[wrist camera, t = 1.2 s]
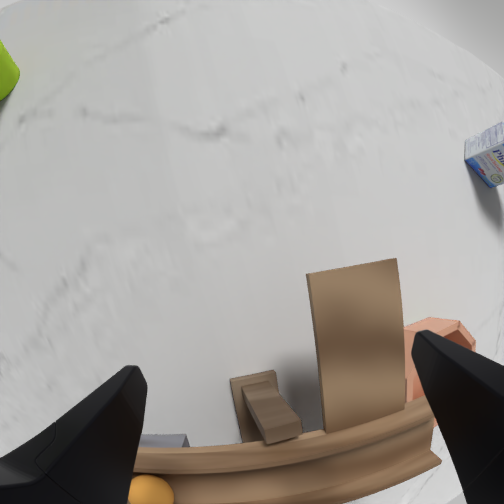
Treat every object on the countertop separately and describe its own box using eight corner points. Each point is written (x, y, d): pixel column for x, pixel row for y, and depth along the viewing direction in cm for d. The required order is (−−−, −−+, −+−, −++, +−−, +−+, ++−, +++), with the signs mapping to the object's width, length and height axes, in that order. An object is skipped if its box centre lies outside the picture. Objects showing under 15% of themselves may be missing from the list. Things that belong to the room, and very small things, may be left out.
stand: (286, 460, 24) (320, 512, 16) (249, 469, 24) (272, 526, 15) (273, 369, 25) (312, 408, 16) (229, 378, 24) (250, 424, 15)
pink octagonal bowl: (445, 392, 29) (471, 401, 24) (378, 428, 27) (403, 445, 22) (446, 309, 30) (475, 312, 25) (375, 337, 27) (406, 345, 23)
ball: (182, 496, 16) (176, 524, 12) (141, 495, 15) (131, 521, 12) (169, 466, 16) (161, 494, 13) (127, 465, 16) (113, 490, 12)
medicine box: (463, 160, 33) (505, 142, 25) (464, 139, 34) (502, 120, 26) (489, 189, 35) (529, 176, 26) (490, 168, 35) (527, 154, 27)
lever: (414, 439, 19) (441, 463, 14) (149, 485, 18) (134, 518, 13) (410, 253, 20) (448, 249, 15) (93, 302, 19) (58, 309, 14)
